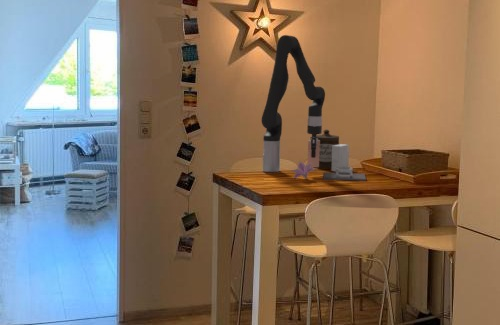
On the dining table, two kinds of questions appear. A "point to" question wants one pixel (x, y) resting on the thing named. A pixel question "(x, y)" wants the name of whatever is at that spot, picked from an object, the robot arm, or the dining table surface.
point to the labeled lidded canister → (326, 149)
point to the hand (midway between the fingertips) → (313, 156)
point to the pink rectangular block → (315, 160)
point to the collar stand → (344, 175)
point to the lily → (303, 170)
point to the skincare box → (340, 156)
